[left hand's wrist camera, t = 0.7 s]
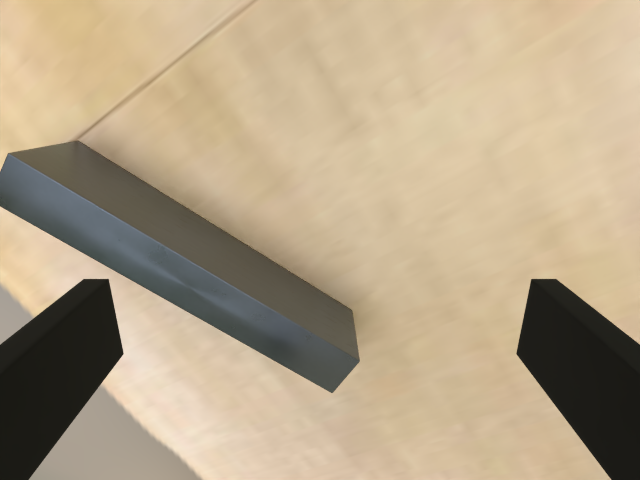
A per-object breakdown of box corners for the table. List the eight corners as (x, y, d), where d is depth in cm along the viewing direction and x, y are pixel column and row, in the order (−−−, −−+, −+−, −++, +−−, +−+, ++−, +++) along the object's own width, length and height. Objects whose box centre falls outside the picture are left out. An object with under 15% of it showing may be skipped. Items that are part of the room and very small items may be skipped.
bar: (60, 177, 41) (-13, 199, 32) (77, 140, 40) (7, 152, 31) (329, 337, 48) (332, 393, 39) (352, 310, 46) (360, 361, 37)
